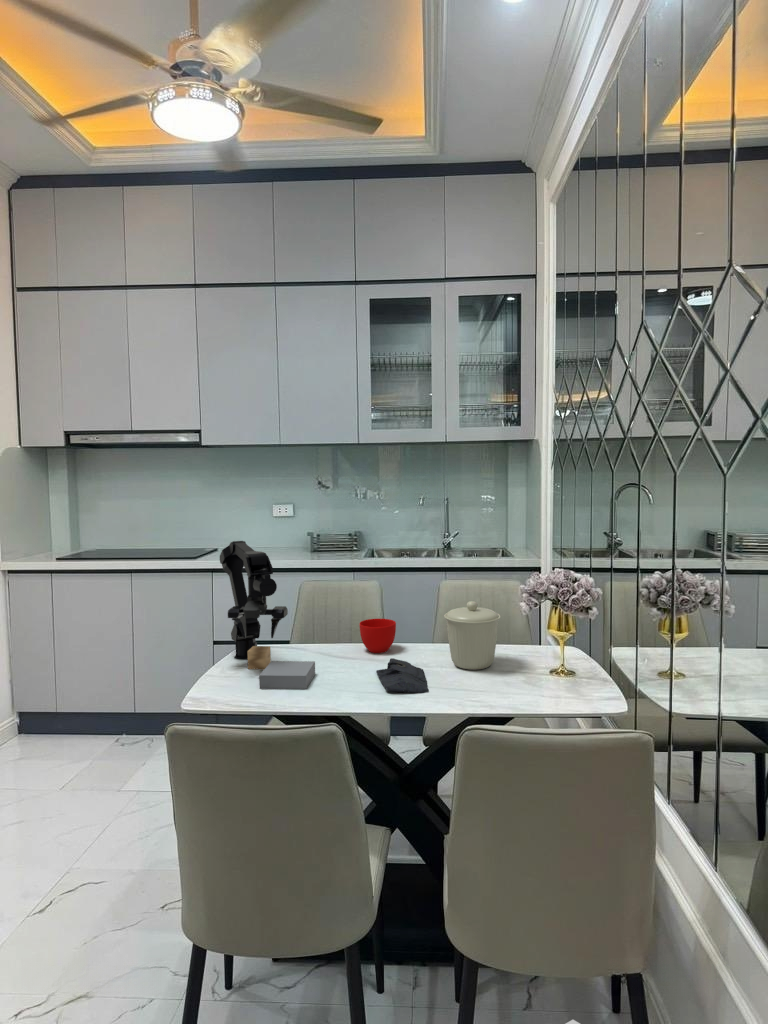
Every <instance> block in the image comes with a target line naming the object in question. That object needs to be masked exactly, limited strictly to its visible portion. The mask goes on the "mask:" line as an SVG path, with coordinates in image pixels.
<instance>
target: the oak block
mask: <svg viewBox="0 0 768 1024" xmlns="http://www.w3.org/2000/svg"><path fill="white" fill-rule="evenodd" d="M247 653H248V659H247V669H248V670H264V669H265V668H266V667H267V666H268V665H269V663H270V662H271V661H272V658H271V656H272V655H271V653H272V651H271V646H264V645H262V646H261V645H259V646H258V645H257V646H253V647H252V648H250V649H249V650H248V651H247Z"/></svg>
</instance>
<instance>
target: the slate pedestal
mask: <svg viewBox="0 0 768 1024" xmlns="http://www.w3.org/2000/svg"><path fill="white" fill-rule="evenodd" d="M315 675H316V661H314V660H310V661H309V660H308V661H307V660H304V661H302V660H298V661H297V660H294V661H293V660H271V662H270V663H269V665H268V666H267V667H266V668H265V669H262V672H260V674H259V675H258V678H259V681H258V682H259V683H258V686H259V689H262V690H264V689H265V690H266V689H267V690H268V689H269V690H274V689H275V690H307V688H308V687H309V685H310V684H311V682H312V680H313V678H314V677H315Z"/></svg>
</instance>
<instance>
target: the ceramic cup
mask: <svg viewBox="0 0 768 1024" xmlns="http://www.w3.org/2000/svg"><path fill="white" fill-rule="evenodd" d="M396 631H397V622H396V621H395V620H393V619H390V618H389V619H388V618H371V619H370V618H369V619H364V620H362V621H360V622H359V633H360V640H361V641H362V644H363V646H364V647H365V648H366V649H367V650H368V651H369V652H370V653H372V654H373V653H374V654H382V653H386V652H388V650H389V649H390V648H391V647H392V646H393V643H394V641H395V638H396Z"/></svg>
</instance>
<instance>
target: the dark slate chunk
mask: <svg viewBox="0 0 768 1024" xmlns="http://www.w3.org/2000/svg"><path fill="white" fill-rule="evenodd" d="M376 674H377V678H378V679H379V681H380V682H381V684H382V686H383V687H384V689H386V691H387V692H390V693H394V692H397V693H414V694H425V693H429V692H430V690H429V685H428V681H427V677H426V673H425V671H424V669H423V668H421V667H418V666H416V665H412V664H411V663H410V662H408V661H407V660H406V661H405V660H402V659H401V660H400V659H396V658H389V662H388V663H387V667H386V668H382V669H377V670H376Z"/></svg>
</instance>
